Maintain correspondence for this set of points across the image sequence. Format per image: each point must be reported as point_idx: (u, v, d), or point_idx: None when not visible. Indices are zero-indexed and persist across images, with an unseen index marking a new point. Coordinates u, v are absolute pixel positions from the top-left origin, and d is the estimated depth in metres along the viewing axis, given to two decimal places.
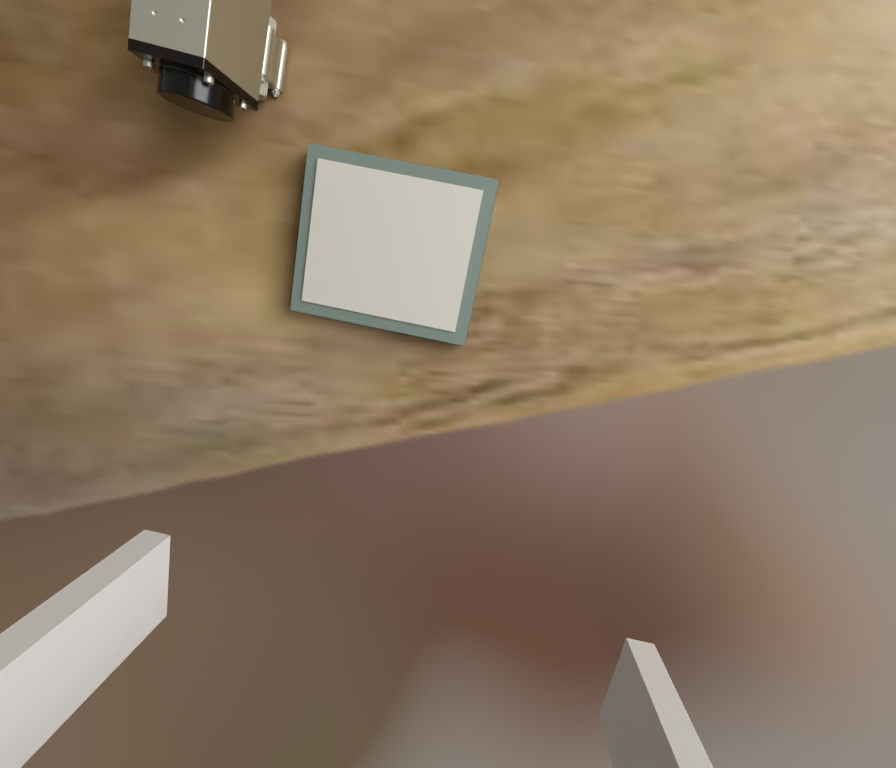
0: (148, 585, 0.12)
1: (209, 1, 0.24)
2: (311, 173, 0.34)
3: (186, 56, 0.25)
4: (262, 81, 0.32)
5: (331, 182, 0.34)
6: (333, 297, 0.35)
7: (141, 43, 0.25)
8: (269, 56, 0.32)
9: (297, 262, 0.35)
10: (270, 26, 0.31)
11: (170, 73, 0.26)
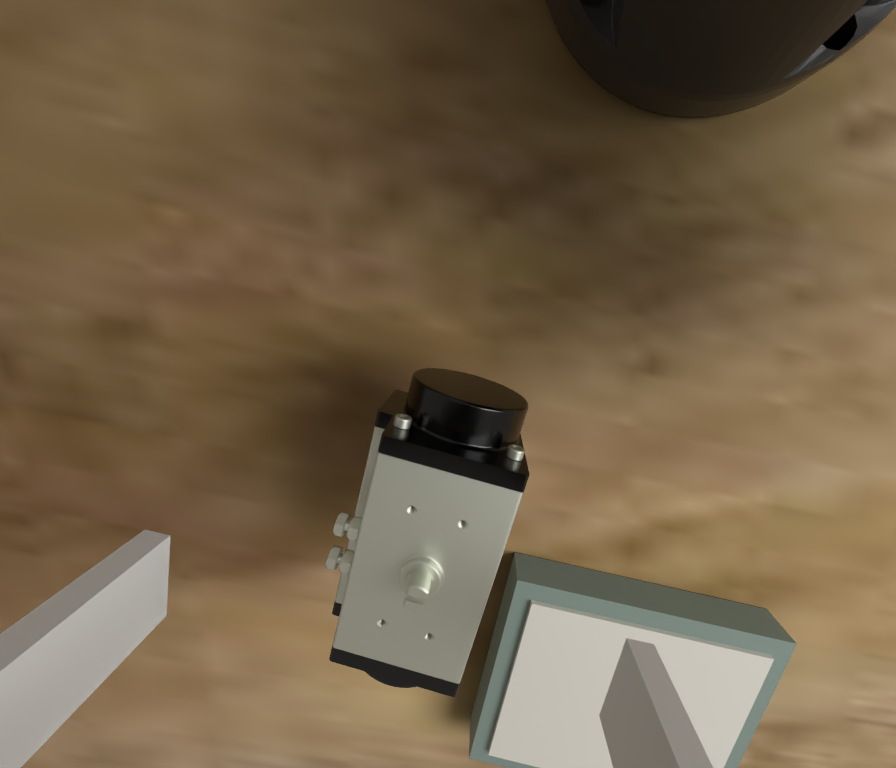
0: (148, 585, 0.12)
1: (480, 618, 0.14)
2: (517, 614, 0.24)
3: (429, 679, 0.15)
4: None
5: (548, 632, 0.24)
6: (534, 756, 0.26)
7: (354, 656, 0.15)
8: None
9: (485, 709, 0.26)
10: None
11: None
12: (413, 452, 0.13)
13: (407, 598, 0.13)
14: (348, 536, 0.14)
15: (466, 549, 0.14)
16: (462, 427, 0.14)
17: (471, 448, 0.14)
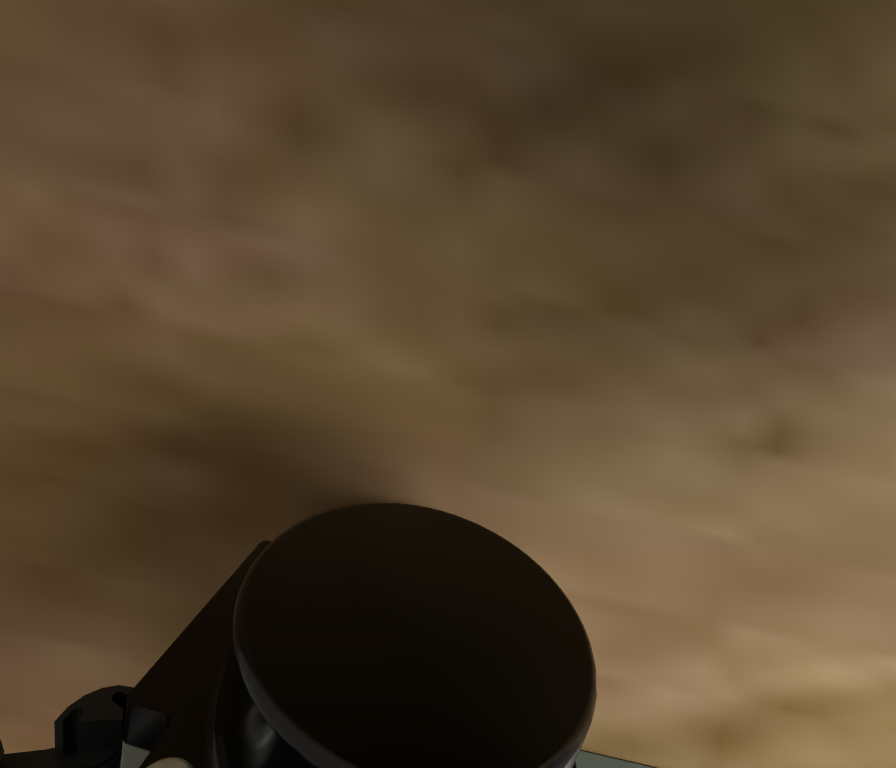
0: None
1: None
2: None
3: None
4: None
5: None
6: None
7: None
8: None
9: None
10: None
11: None
12: None
13: None
14: None
15: None
16: None
17: None
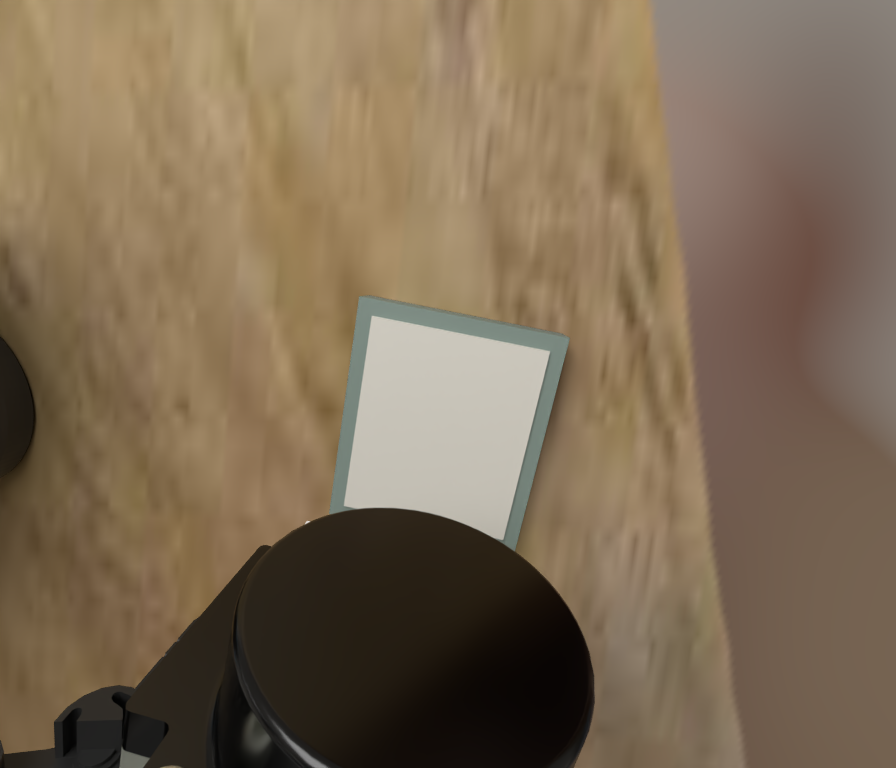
0: None
1: None
2: None
3: None
4: None
5: (368, 493, 0.29)
6: (500, 502, 0.28)
7: None
8: None
9: None
10: None
11: None
12: None
13: None
14: None
15: None
16: None
17: None
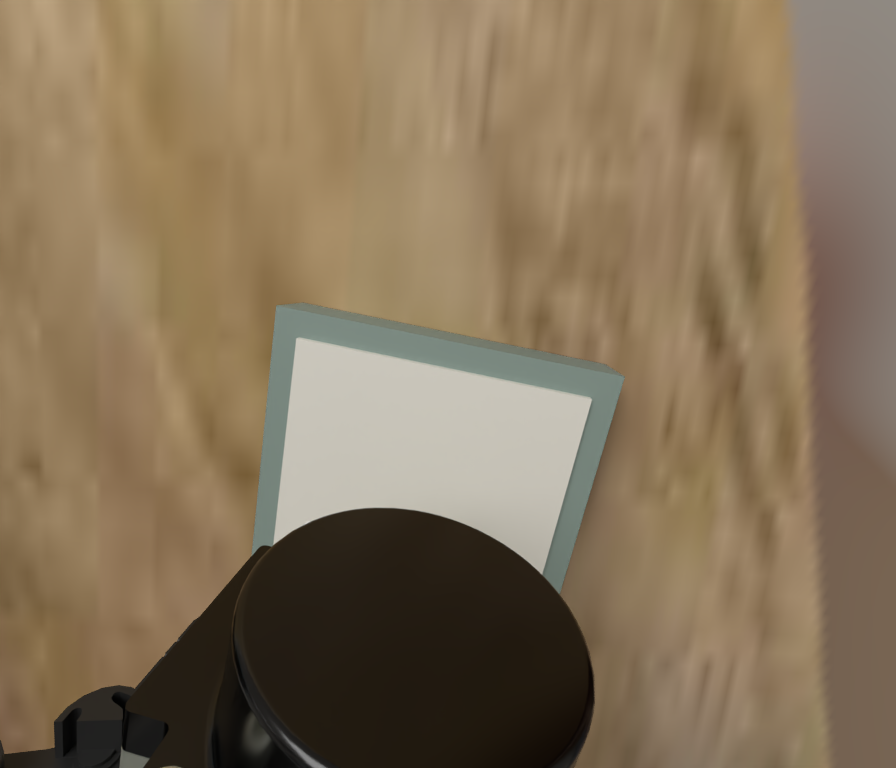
0: None
1: None
2: None
3: None
4: None
5: None
6: None
7: None
8: None
9: None
10: None
11: None
12: None
13: None
14: None
15: None
16: None
17: None
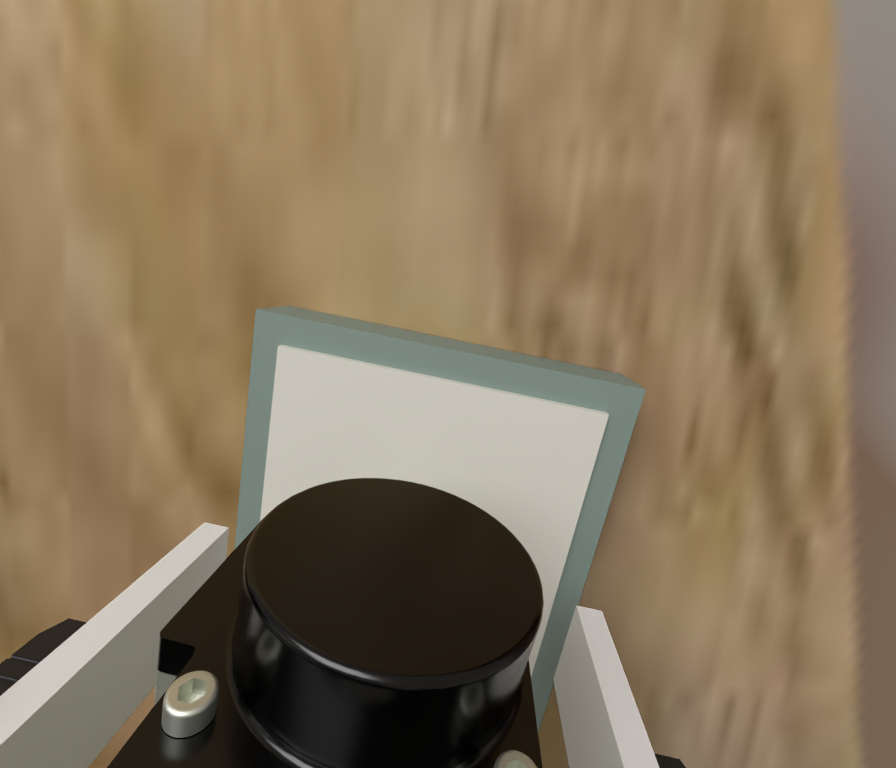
0: (210, 574, 0.12)
1: None
2: None
3: None
4: None
5: None
6: None
7: None
8: None
9: None
10: None
11: None
12: None
13: None
14: None
15: None
16: (354, 739, 0.05)
17: None
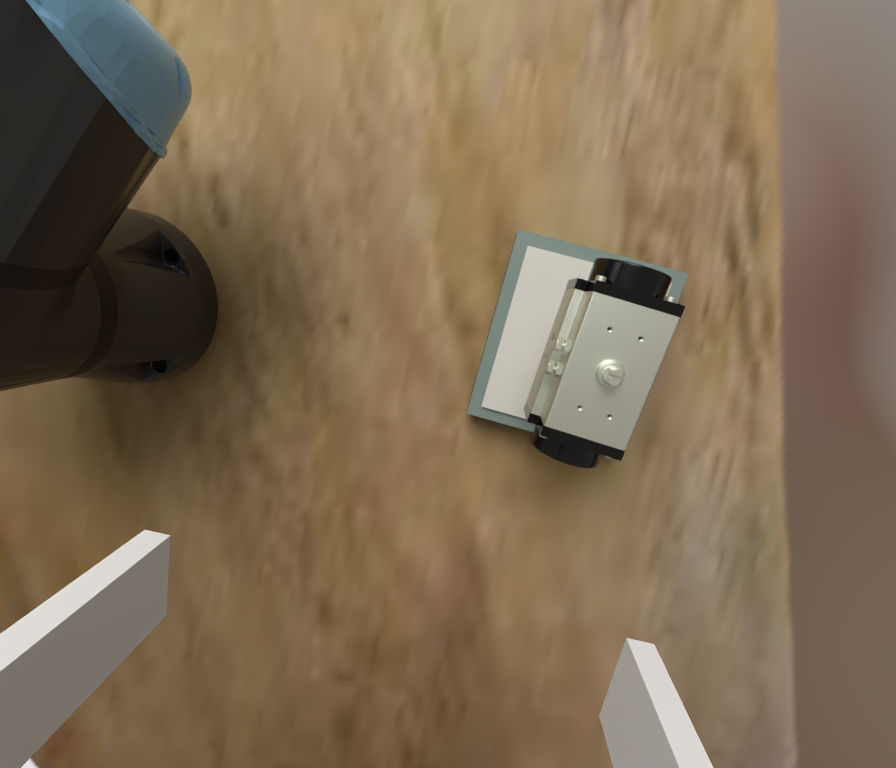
0: (148, 585, 0.12)
1: (644, 403, 0.23)
2: (493, 414, 0.36)
3: (605, 448, 0.24)
4: None
5: (504, 396, 0.35)
6: None
7: (558, 432, 0.24)
8: None
9: None
10: None
11: (569, 447, 0.25)
12: (615, 291, 0.22)
13: (609, 378, 0.22)
14: (564, 349, 0.23)
15: (641, 355, 0.23)
16: (640, 282, 0.23)
17: None
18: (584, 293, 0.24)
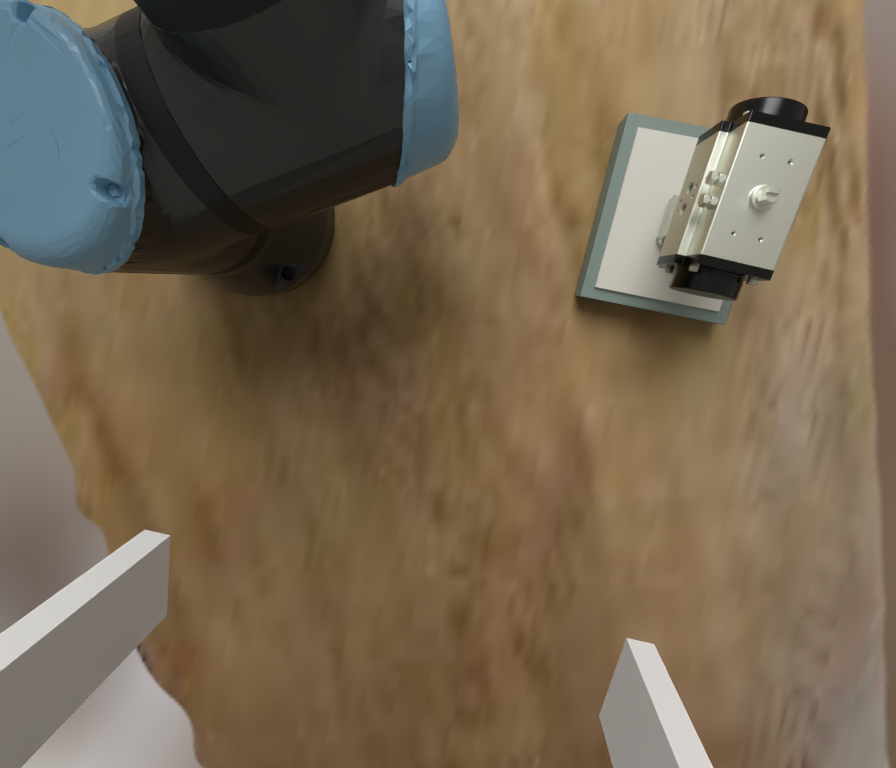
0: (148, 585, 0.12)
1: (792, 223, 0.26)
2: (605, 294, 0.39)
3: (756, 269, 0.27)
4: None
5: (616, 275, 0.38)
6: None
7: (713, 258, 0.27)
8: None
9: (681, 313, 0.38)
10: None
11: (718, 277, 0.28)
12: (768, 119, 0.25)
13: (767, 195, 0.25)
14: (719, 179, 0.26)
15: (790, 177, 0.26)
16: (785, 113, 0.26)
17: None
18: (729, 133, 0.27)
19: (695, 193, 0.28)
